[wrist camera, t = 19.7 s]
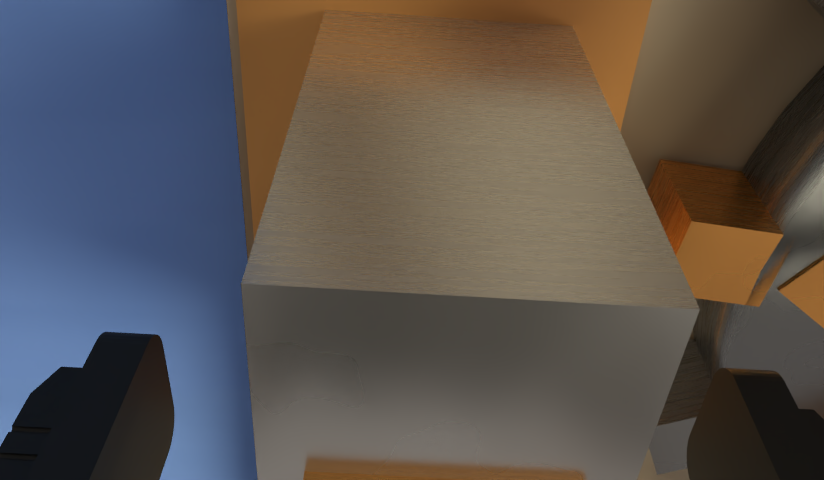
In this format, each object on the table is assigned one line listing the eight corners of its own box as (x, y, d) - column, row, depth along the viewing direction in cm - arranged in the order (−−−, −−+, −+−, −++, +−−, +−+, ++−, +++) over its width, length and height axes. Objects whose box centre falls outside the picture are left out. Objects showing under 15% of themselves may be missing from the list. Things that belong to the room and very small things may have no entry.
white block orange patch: (572, 26, 12) (707, 325, 7) (505, 376, 17) (548, 733, 11) (325, 10, 12) (236, 298, 6) (326, 366, 17) (275, 722, 11)
